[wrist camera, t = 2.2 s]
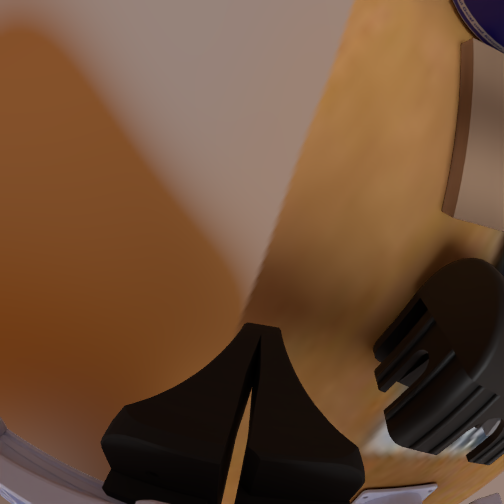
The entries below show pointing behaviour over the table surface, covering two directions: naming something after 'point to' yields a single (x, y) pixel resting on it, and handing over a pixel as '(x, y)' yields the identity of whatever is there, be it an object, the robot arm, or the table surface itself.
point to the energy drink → (484, 20)
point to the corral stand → (491, 425)
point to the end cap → (447, 361)
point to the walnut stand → (478, 140)
